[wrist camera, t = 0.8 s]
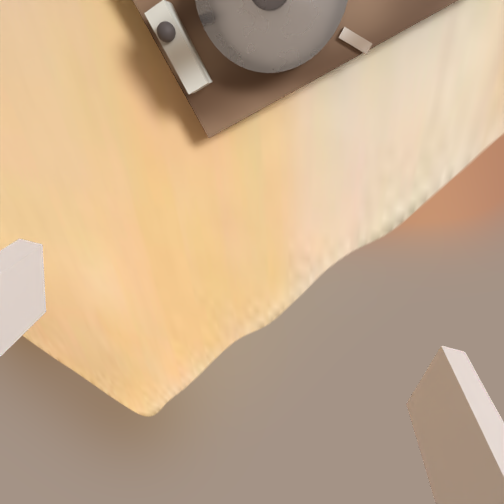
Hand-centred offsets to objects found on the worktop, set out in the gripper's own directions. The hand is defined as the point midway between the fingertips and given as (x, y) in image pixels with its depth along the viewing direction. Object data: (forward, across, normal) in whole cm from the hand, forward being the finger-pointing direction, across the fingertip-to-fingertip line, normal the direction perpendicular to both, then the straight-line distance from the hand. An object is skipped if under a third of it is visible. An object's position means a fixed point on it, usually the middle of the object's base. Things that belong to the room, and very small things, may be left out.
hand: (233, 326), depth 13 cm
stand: (+26, -3, +14) cm, 30 cm away
